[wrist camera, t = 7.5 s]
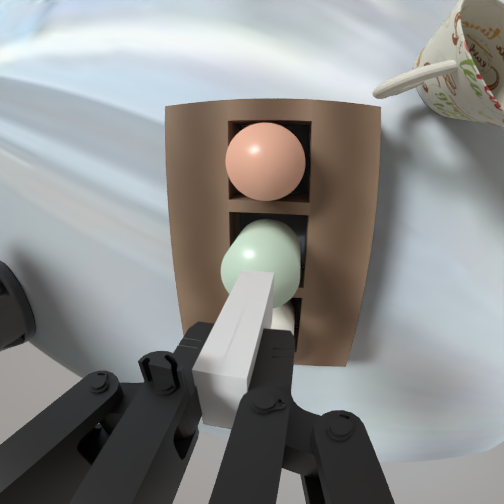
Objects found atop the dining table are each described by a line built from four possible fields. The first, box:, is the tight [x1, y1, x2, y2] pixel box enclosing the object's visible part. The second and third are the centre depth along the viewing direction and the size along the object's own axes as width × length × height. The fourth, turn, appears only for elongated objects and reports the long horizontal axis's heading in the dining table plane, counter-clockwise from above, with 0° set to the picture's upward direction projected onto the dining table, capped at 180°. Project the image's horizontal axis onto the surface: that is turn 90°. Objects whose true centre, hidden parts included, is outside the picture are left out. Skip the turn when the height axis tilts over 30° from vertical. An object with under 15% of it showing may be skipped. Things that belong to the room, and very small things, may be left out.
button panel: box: [165, 99, 381, 367], centre depth 20 cm, size 14×20×4 cm
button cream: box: [271, 299, 295, 336], centre depth 21 cm, size 4×4×4 cm
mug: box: [373, 0, 504, 127], centre depth 11 cm, size 8×13×10 cm, turn 116°
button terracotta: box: [226, 123, 305, 201], centre depth 17 cm, size 4×4×4 cm
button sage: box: [221, 219, 301, 308], centre depth 17 cm, size 4×4×4 cm
